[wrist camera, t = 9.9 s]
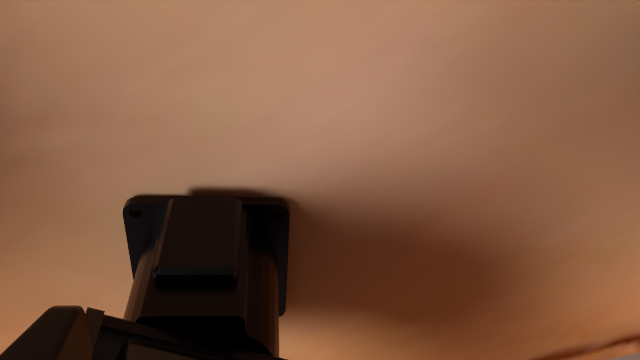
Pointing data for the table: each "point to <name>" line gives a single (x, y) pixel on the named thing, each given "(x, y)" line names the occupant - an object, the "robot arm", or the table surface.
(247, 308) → the robot arm
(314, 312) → the table surface
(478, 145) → the table surface
